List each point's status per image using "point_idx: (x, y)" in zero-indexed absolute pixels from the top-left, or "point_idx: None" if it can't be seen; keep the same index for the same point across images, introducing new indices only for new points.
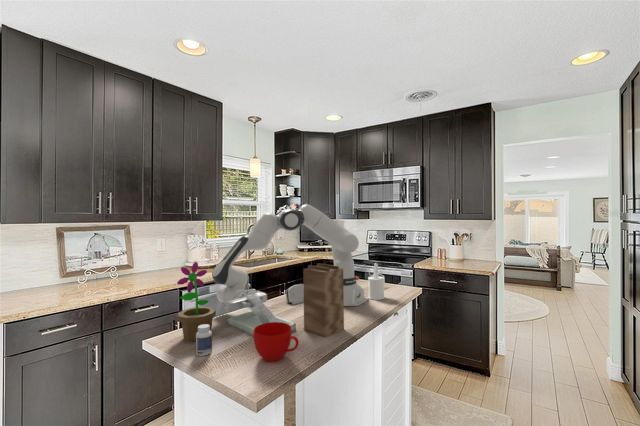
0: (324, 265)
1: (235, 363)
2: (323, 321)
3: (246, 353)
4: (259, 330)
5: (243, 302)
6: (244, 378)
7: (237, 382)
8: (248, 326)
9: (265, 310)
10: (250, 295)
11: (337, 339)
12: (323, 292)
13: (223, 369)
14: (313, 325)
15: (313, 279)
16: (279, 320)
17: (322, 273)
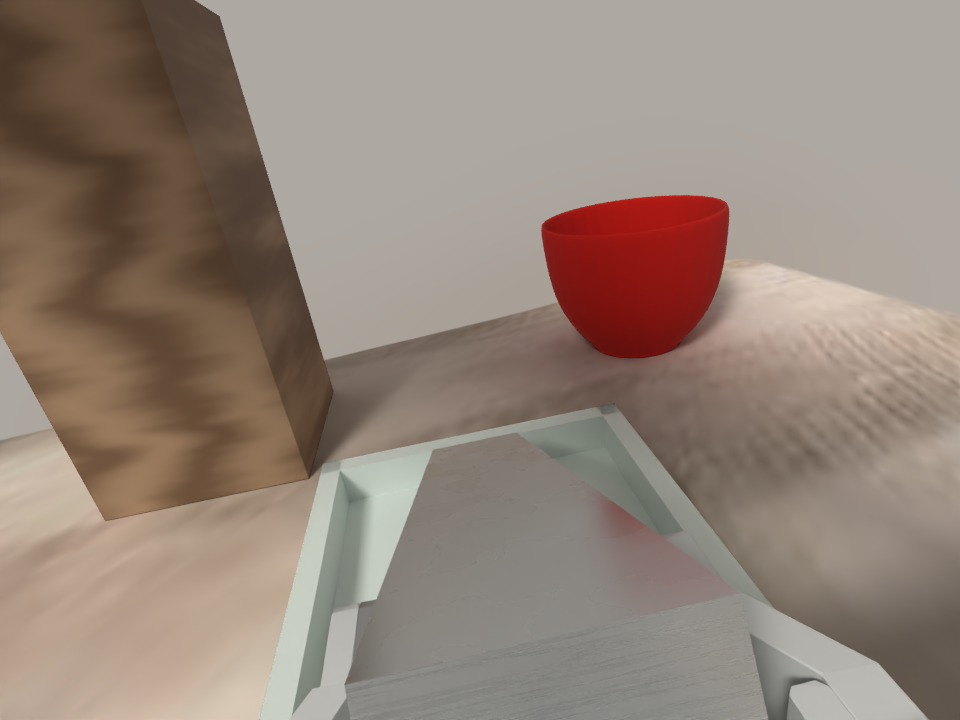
0: None
1: (820, 339)
2: (310, 320)
3: (761, 379)
4: (686, 250)
5: (869, 700)
6: (772, 292)
7: (797, 285)
8: (728, 569)
9: (475, 468)
10: (583, 593)
11: None
12: (260, 156)
13: (876, 324)
14: (308, 389)
15: (208, 73)
16: (318, 621)
17: (218, 23)
